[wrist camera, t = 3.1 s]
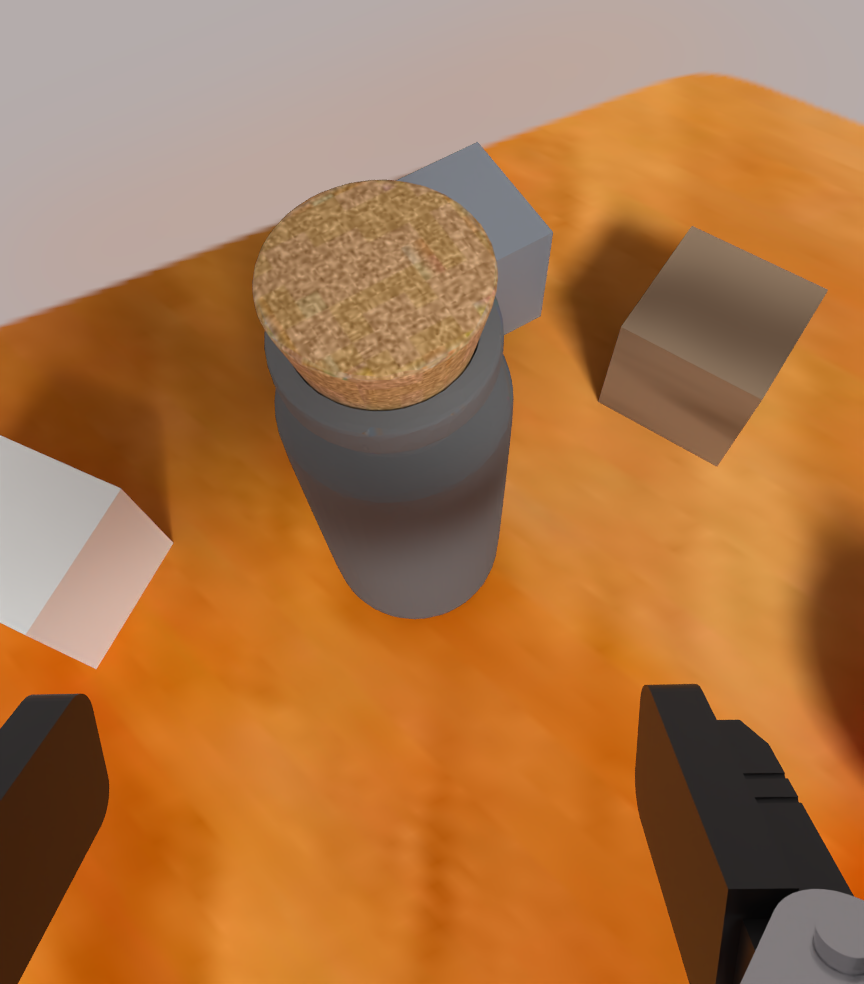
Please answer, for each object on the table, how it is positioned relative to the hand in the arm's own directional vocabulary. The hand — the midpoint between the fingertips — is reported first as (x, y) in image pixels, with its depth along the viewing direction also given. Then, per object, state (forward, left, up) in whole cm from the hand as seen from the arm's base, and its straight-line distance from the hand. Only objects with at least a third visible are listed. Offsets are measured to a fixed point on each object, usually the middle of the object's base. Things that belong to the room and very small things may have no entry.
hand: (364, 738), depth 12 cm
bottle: (-5, -7, -15) cm, 18 cm away
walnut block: (-17, -5, -15) cm, 24 cm away
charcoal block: (-13, -14, -15) cm, 24 cm away
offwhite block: (+5, -14, -15) cm, 21 cm away
